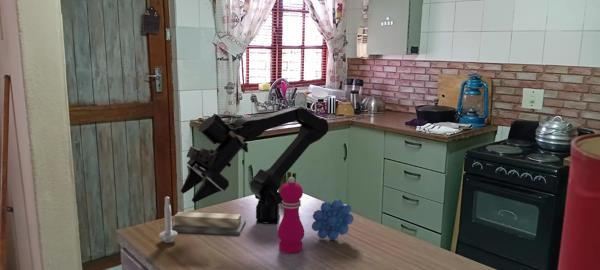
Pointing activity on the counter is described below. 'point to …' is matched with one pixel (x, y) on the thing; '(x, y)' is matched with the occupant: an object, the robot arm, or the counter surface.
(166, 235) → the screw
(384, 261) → the counter surface
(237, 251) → the counter surface
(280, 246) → the pepper mill
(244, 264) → the counter surface
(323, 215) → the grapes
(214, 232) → the stand
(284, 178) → the fennel bulb
